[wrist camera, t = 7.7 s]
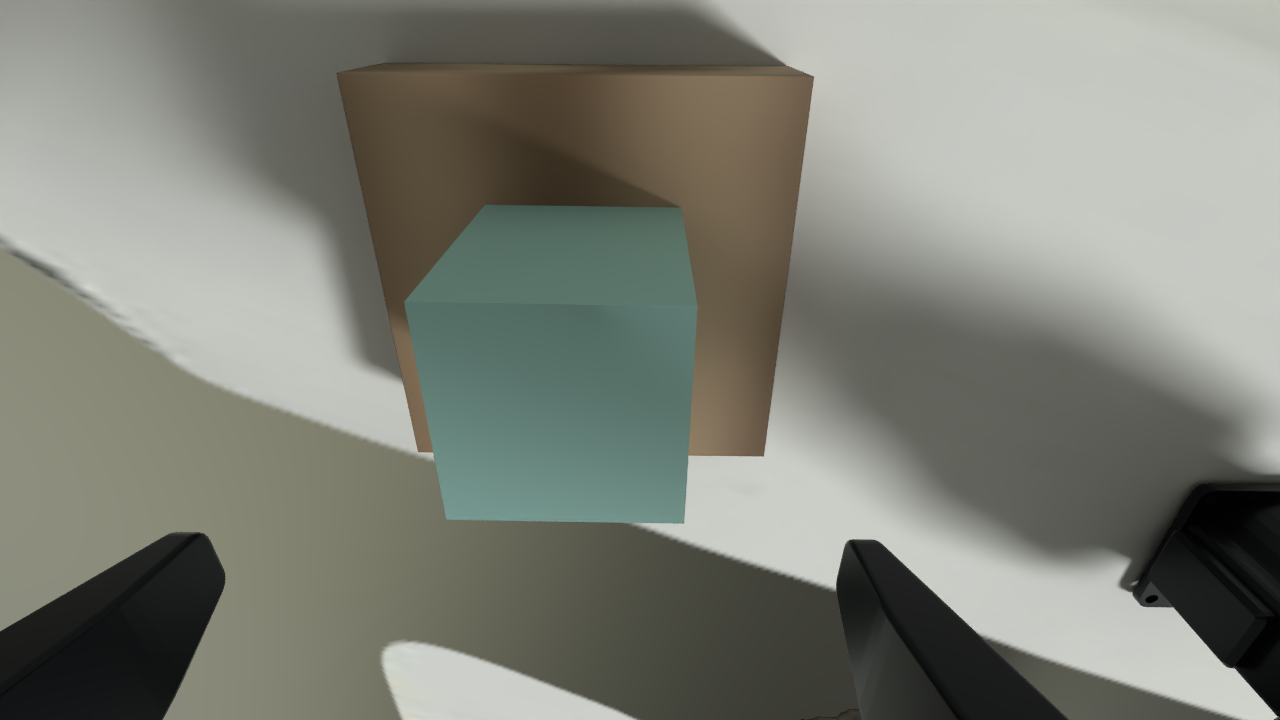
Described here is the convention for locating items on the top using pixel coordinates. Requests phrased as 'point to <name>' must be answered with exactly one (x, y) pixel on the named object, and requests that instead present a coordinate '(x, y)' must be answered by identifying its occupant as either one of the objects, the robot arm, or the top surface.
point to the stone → (844, 716)
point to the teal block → (560, 364)
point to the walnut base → (598, 191)
